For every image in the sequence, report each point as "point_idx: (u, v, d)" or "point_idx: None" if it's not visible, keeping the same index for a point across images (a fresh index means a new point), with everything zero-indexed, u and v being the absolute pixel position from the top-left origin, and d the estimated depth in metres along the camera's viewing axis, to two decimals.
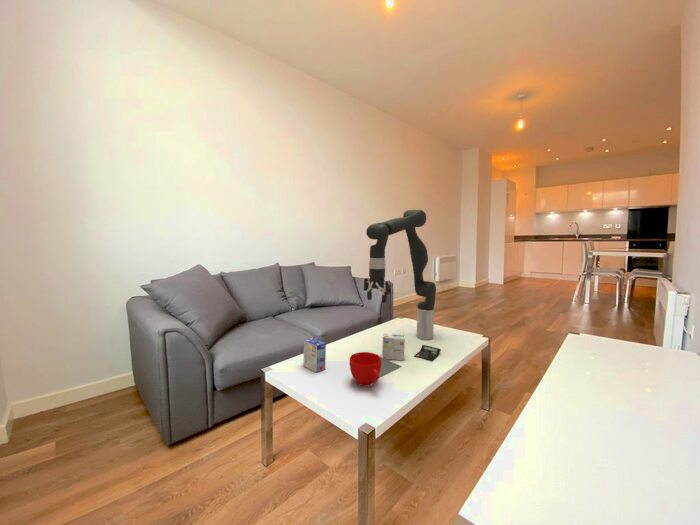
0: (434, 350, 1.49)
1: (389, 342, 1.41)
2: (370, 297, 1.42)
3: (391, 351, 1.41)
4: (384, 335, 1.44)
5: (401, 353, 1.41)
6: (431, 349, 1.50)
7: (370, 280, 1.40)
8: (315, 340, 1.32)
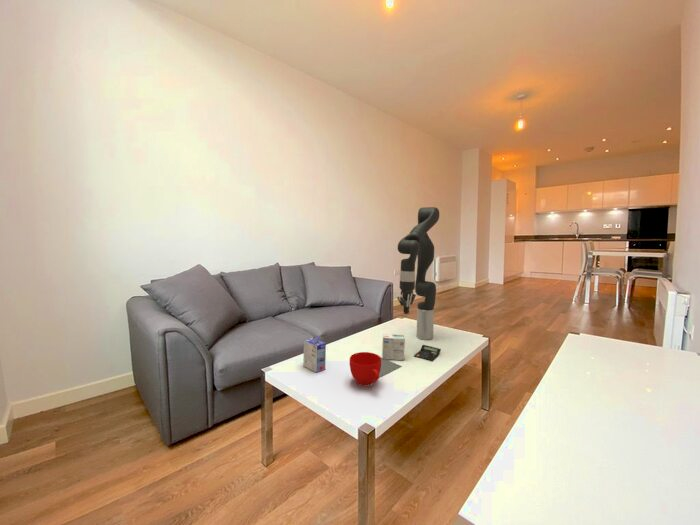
0: (435, 350, 1.49)
1: (389, 342, 1.41)
2: None
3: (391, 351, 1.41)
4: (384, 335, 1.44)
5: (401, 353, 1.41)
6: (431, 349, 1.50)
7: (405, 293, 1.46)
8: (315, 340, 1.32)
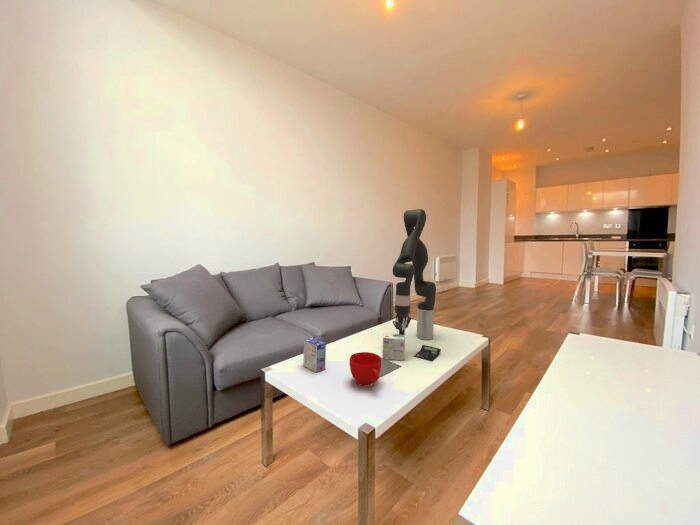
0: (435, 350, 1.49)
1: (389, 342, 1.41)
2: None
3: (392, 351, 1.41)
4: (384, 335, 1.44)
5: (401, 353, 1.41)
6: (431, 349, 1.50)
7: (400, 317, 1.44)
8: (315, 340, 1.32)
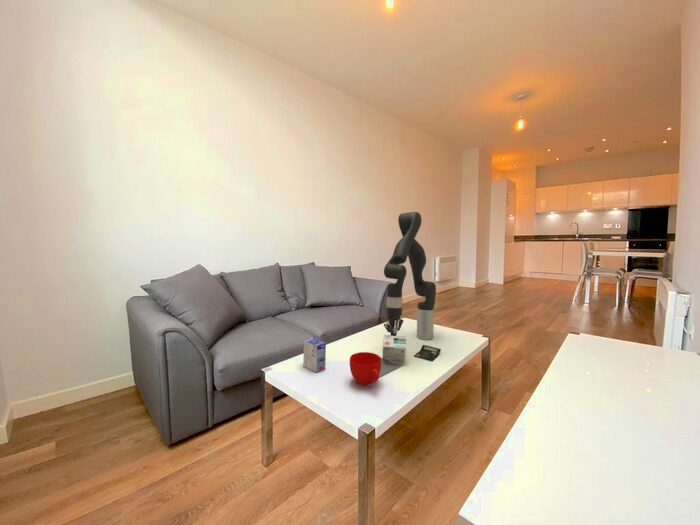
0: (435, 350, 1.49)
1: (389, 349, 1.36)
2: None
3: (392, 355, 1.39)
4: (385, 341, 1.37)
5: (401, 356, 1.39)
6: (431, 349, 1.50)
7: (391, 320, 1.40)
8: (315, 340, 1.32)
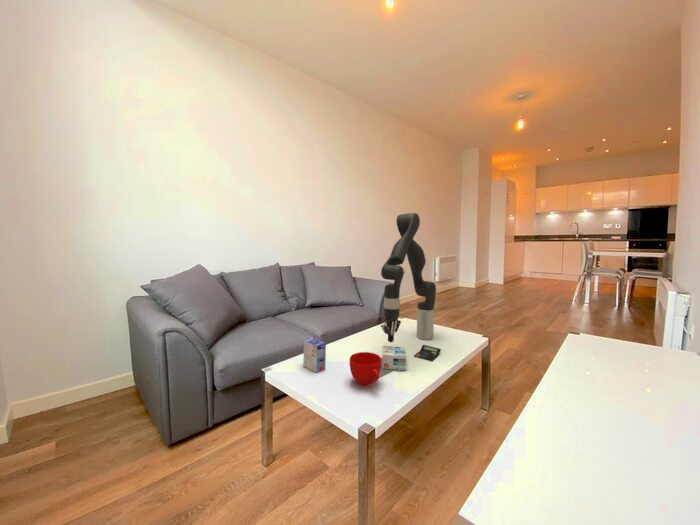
0: (435, 350, 1.49)
1: None
2: None
3: None
4: (384, 362, 1.31)
5: None
6: (431, 349, 1.50)
7: (389, 321, 1.38)
8: (315, 340, 1.32)
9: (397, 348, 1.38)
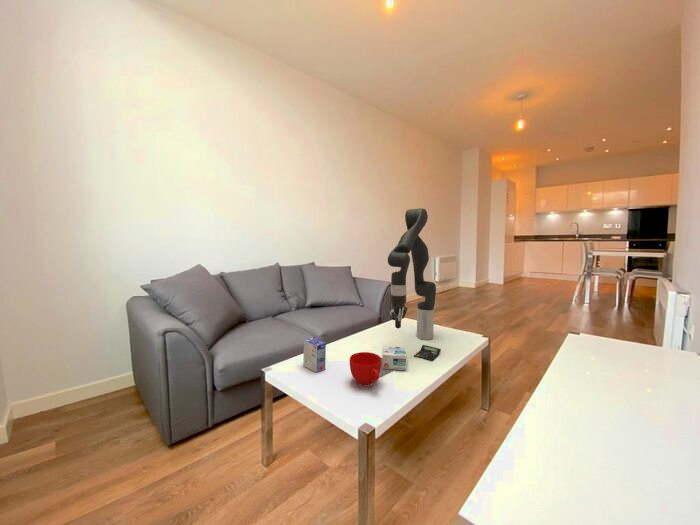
0: (435, 350, 1.49)
1: None
2: None
3: None
4: (384, 362, 1.31)
5: None
6: (431, 349, 1.50)
7: (396, 308, 1.41)
8: (315, 340, 1.32)
9: (397, 348, 1.38)
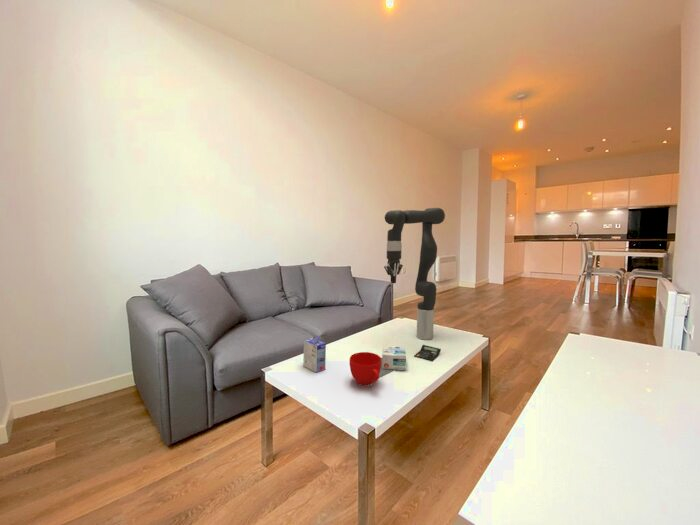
0: (435, 350, 1.49)
1: None
2: None
3: None
4: (384, 362, 1.31)
5: None
6: (431, 349, 1.50)
7: (391, 263, 1.49)
8: (315, 340, 1.32)
9: (397, 348, 1.38)
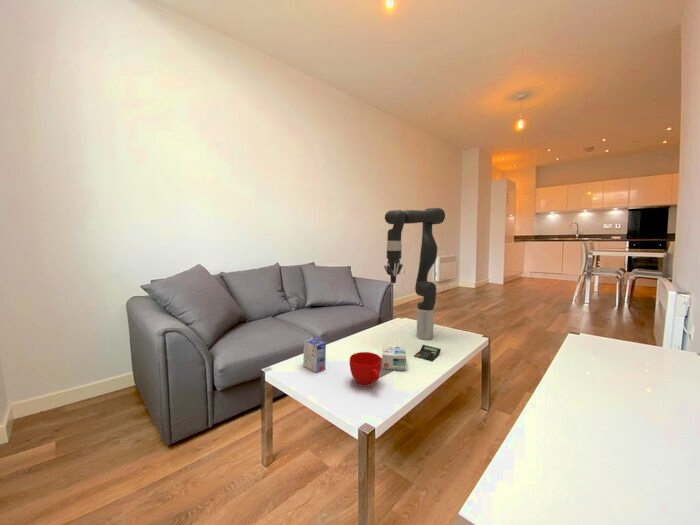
0: (435, 350, 1.49)
1: None
2: None
3: None
4: (384, 362, 1.31)
5: None
6: (431, 349, 1.50)
7: (391, 262, 1.49)
8: (315, 340, 1.32)
9: (397, 348, 1.38)
